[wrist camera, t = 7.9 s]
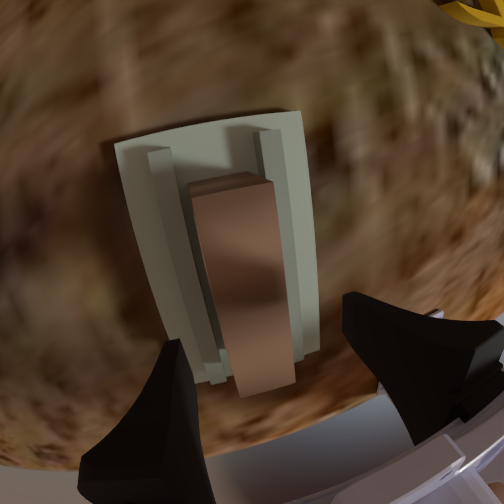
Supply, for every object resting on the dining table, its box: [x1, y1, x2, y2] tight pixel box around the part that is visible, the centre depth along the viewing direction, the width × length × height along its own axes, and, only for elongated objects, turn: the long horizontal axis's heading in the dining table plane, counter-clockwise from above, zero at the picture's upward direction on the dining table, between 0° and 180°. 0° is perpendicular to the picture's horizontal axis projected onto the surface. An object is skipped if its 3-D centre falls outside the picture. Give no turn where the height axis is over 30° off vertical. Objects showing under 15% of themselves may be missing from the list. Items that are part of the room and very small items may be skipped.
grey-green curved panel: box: [114, 111, 320, 385], centre depth 19 cm, size 18×11×2 cm, turn 9°
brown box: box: [188, 171, 296, 398], centre depth 17 cm, size 12×4×5 cm, turn 9°
